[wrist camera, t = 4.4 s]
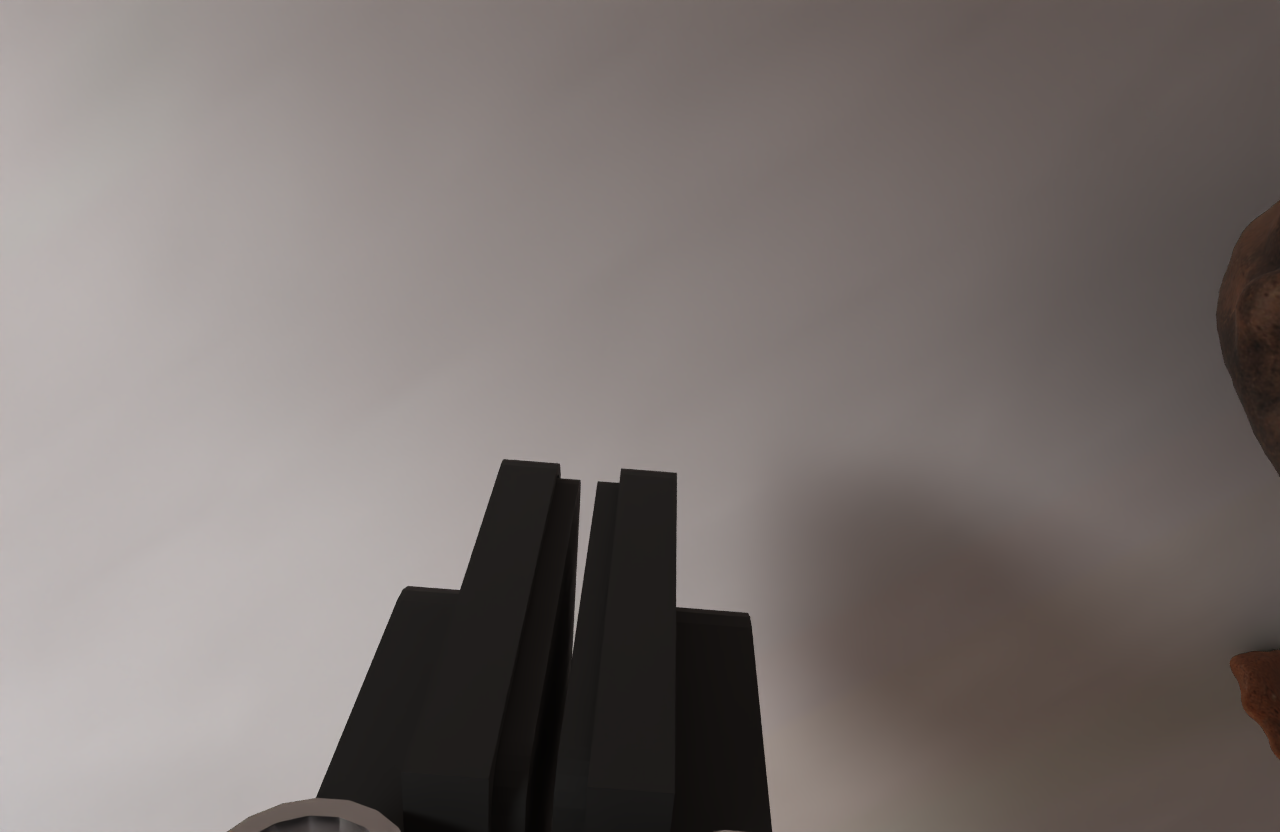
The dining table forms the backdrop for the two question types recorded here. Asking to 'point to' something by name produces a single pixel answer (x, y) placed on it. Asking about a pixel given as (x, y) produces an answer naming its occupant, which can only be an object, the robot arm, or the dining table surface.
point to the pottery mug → (1256, 409)
